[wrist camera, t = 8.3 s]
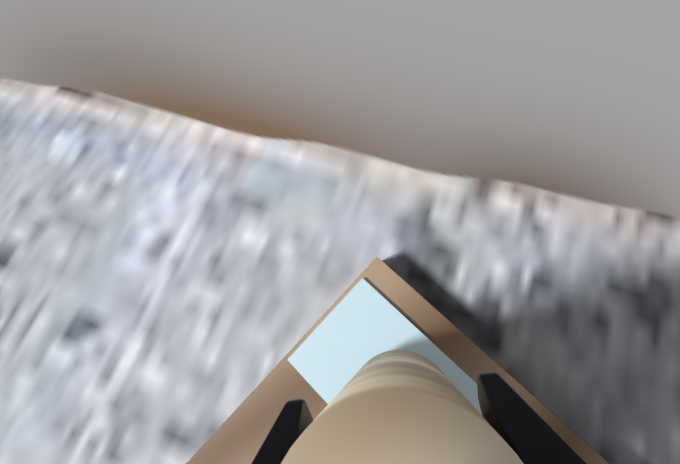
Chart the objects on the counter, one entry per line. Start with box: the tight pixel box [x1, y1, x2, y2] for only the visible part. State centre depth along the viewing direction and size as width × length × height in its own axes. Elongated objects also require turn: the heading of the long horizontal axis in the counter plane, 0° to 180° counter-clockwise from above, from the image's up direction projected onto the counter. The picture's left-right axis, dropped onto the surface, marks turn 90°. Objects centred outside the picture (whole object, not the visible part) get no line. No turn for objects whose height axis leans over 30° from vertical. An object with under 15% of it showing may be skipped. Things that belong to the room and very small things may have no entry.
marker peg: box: [281, 350, 524, 464], centre depth 9 cm, size 4×4×12 cm
